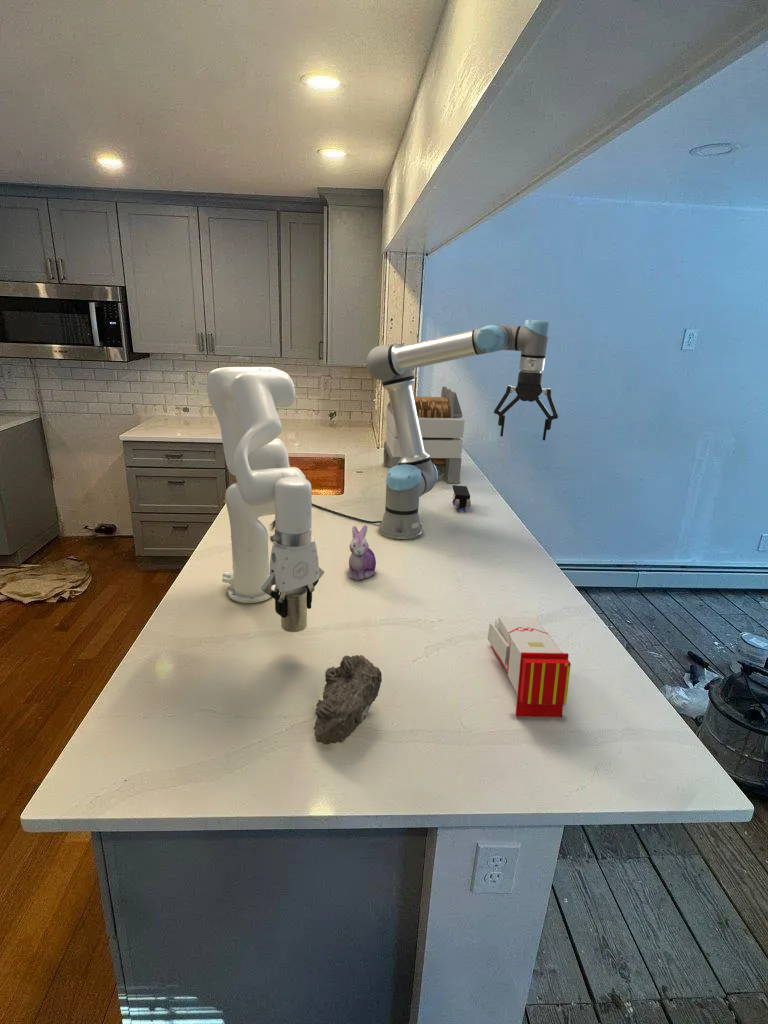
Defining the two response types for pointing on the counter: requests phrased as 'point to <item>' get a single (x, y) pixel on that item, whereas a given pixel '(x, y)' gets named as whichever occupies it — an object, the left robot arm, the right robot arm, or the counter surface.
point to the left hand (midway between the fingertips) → (293, 609)
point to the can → (295, 610)
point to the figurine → (361, 555)
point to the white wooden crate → (433, 433)
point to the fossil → (346, 698)
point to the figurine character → (461, 497)
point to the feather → (273, 524)
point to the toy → (531, 665)
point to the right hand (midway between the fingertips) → (522, 437)
